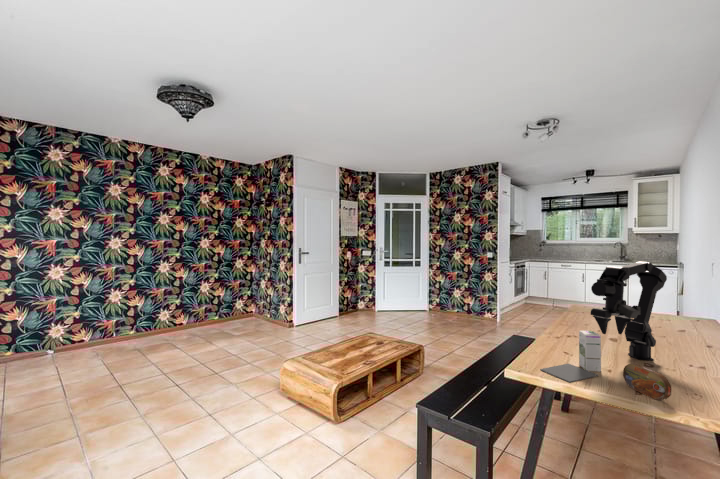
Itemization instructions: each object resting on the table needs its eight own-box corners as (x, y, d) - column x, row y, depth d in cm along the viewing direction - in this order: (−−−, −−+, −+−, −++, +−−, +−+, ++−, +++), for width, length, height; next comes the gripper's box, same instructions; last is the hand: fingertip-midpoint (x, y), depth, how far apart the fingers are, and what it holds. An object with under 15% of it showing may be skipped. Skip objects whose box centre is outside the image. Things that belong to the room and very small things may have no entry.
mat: (568, 364, 135) (568, 363, 135) (598, 375, 124) (598, 374, 124) (540, 370, 129) (540, 369, 129) (569, 382, 118) (569, 381, 118)
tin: (622, 383, 117) (622, 360, 117) (630, 383, 117) (630, 359, 117) (664, 405, 102) (664, 378, 102) (673, 404, 102) (673, 377, 102)
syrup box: (601, 372, 127) (602, 334, 127) (584, 370, 128) (585, 333, 128) (594, 366, 133) (594, 330, 133) (578, 365, 134) (578, 329, 134)
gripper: (618, 299, 126) (616, 339, 126) (651, 300, 132) (649, 339, 131) (590, 294, 137) (588, 332, 136) (622, 296, 142) (620, 332, 142)
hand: (612, 334), depth 136 cm, fingers open, 9 cm apart
